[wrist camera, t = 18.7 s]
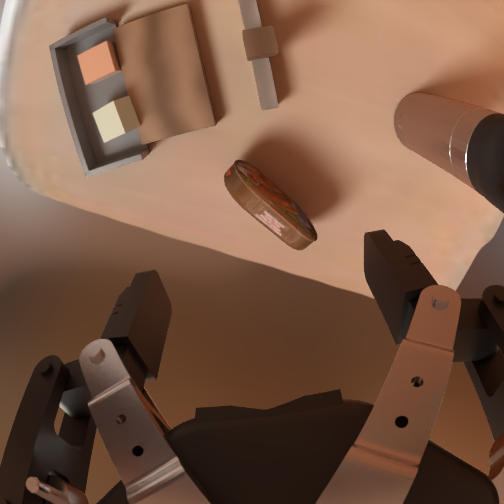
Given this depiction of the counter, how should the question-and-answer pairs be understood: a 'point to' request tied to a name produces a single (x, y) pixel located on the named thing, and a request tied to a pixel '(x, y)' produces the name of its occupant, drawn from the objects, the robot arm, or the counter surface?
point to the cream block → (116, 118)
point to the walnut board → (165, 74)
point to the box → (92, 102)
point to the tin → (269, 205)
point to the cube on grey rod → (259, 51)
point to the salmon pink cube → (99, 62)
